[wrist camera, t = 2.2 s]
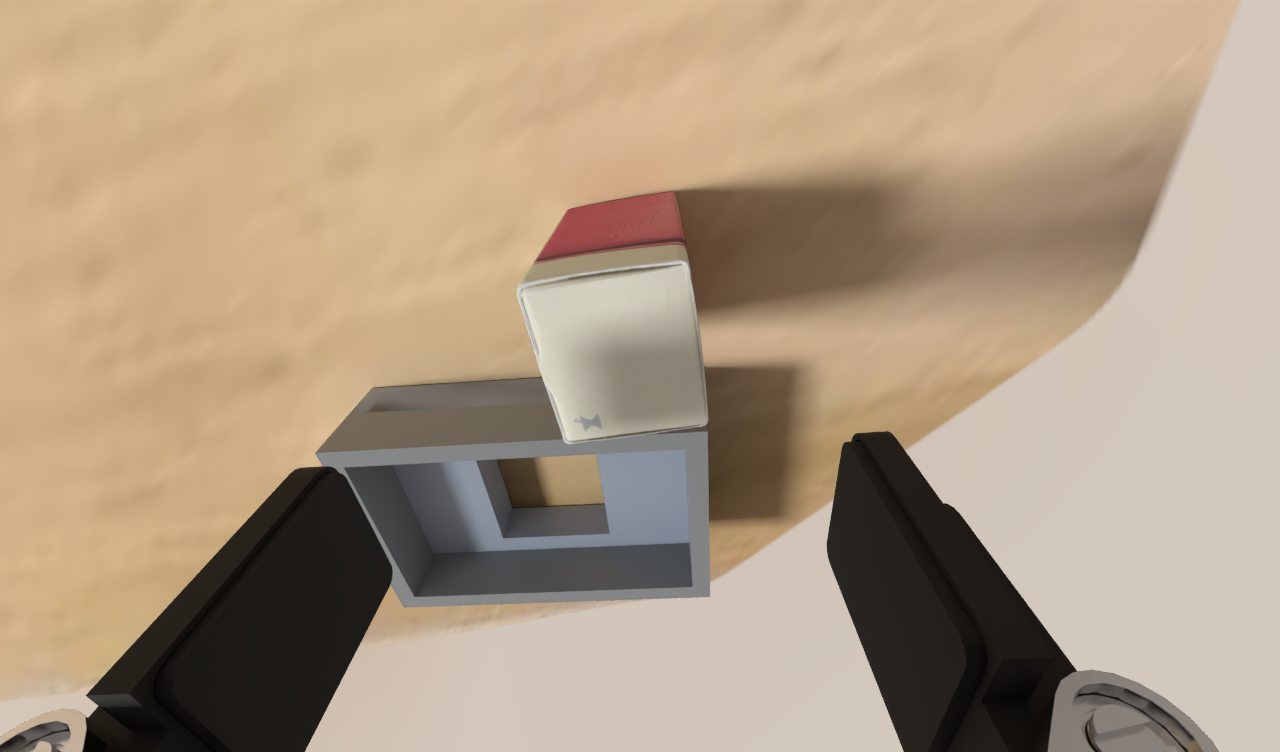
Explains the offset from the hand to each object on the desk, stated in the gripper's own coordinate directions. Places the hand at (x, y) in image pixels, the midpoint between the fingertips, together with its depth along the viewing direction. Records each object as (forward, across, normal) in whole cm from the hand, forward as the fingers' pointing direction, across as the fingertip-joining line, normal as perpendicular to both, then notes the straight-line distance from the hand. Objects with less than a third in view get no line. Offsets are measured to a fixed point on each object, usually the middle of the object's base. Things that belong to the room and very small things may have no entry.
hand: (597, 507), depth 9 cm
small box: (+12, 0, -1) cm, 12 cm away
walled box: (+12, +4, +9) cm, 16 cm away
